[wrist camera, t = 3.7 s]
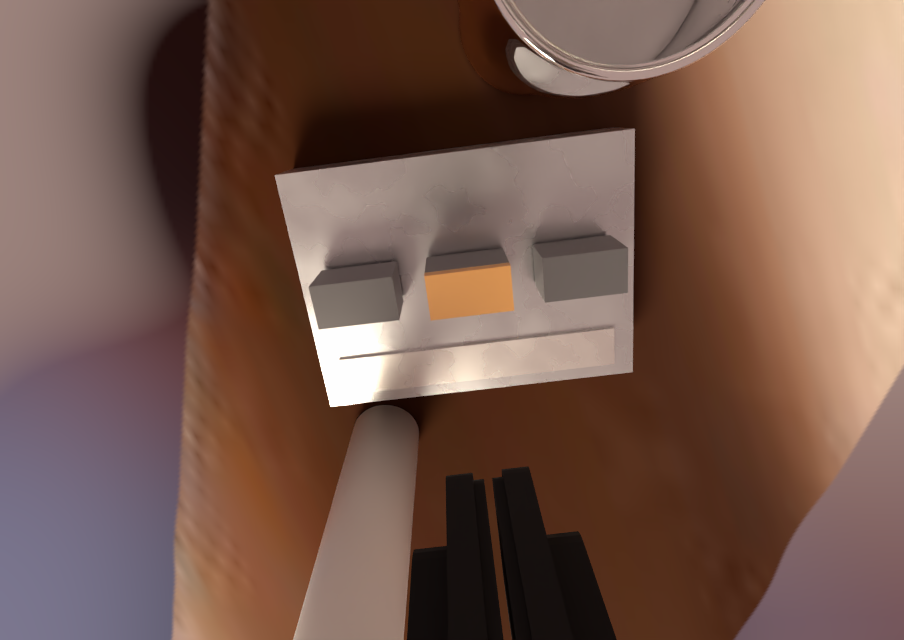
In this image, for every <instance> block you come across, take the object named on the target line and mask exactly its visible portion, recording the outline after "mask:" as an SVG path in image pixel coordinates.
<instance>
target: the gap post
mask: <svg viewBox="0 0 904 640" xmlns="http://www.w3.org/2000/svg"><path fill="white" fill-rule="evenodd" d="M418 441H419V429H418V425H417V423H416V421H415V419H414V418H413V417H412V416H411V415H410V414H409V413H408V412H407V411H405V410H403V409H401V408H399V407H396V406H392V405H379V406H374V407H371V408H369V409H367V410H366V411H364V412H363V413H362V414H361V415H360V416H359V417H358V419H357V420H356V422H355V425H354V429H353V432H352V436H351V439H350V443H349V446H348V450H347V453H346V457H345V460H344V464H343V467H342V471H341V474H340V478H339V481H338V485H337V488H336V492H335V495H334V499H333V502H332V506H331V509H330V513H329V516H328V520H327V523H326V527H325V530H324V534H323V537H322V541H321V544H320V548H319V551H318V555H317V558H316V562H315V565H314V569H313V572H312V576H311V579H310V583H309V586H308V590H307V593H306V597H305V600H304V604H303V607H302V611H301V614H300V618H299V621H298V625H297V628H296V632H295V635H294V639H293V640H403V638H404V625H405V612H406V599H407V586H408V573H409V559H410V546H411V533H412V520H413V507H414V494H415V481H416V467H417V454H418Z"/></svg>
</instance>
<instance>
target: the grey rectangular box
mask: <svg viewBox="0 0 904 640" xmlns="http://www.w3.org/2000/svg"><path fill="white" fill-rule="evenodd" d="M309 291H310V296H311V300H312V304H313V308H314V312H315V317H316V321H317V325H318V329H319V330H321V329H329V328H338V327H346V326H355V325H363V324H371V323H380V322H388V321H396V320H400V315H401V310H402V306H403V295H402V289H401V283H400V277H399V271H398V265H397V261H394V262H386V263H378V264H370V265H362V266H354V267H346V268H338V269H329V270H321V272H320V273H319V274H318V275H317V277H316V278H315V279H314V281H313V282H312V283H311V284H310V286H309Z"/></svg>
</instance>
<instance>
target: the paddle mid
mask: <svg viewBox="0 0 904 640" xmlns="http://www.w3.org/2000/svg"><path fill="white" fill-rule="evenodd" d="M424 279H425V285H426V292H427V299H428V306H429V312H430V319H431V321H432V320H440V319H448V318H457V317H465V316H474V315H482V314H490V313H499V312H507V311H514V301H513V289H512V277H511V265H510V263H509V261H508V259H507V256H506V254H505V252H504V250H503V248H500V249H492V250H484V251H476V252H468V253H459V254H451V255H443V256H435V257H427V258H426V265H425V273H424Z"/></svg>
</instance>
